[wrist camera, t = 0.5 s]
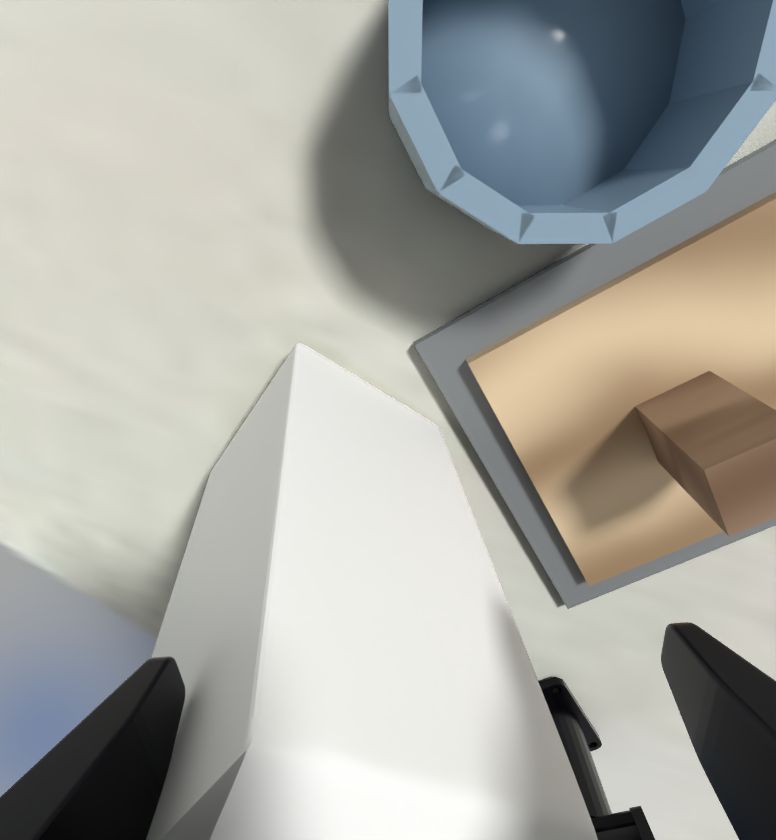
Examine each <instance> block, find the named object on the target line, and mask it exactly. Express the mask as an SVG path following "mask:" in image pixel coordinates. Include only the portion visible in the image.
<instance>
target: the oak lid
mask: <svg viewBox="0 0 776 840" xmlns="http://www.w3.org/2000/svg"><path fill="white" fill-rule="evenodd" d="M466 361H467V363H468V365H469V367H470V369H471V371H472V372H473V374H474V376H475V378H476V380H477V382H478V383H479V385H480V387H481V389H482V391H483V393H484V394H485V396H486V398H487V400H488V402H489V404H490V405H491V407H492V409H493V411H494V413H495V415H496V416H497V418H498V420H499V422H500V424H501V426H502V427H503V429H504V431H505V433H506V435H507V437H508V438H509V440H510V442H511V444H512V446H513V448H514V449H515V451H516V453H517V455H518V457H519V459H520V460H521V462H522V464H523V466H524V468H525V470H526V471H527V473H528V475H529V477H530V479H531V481H532V482H533V484H534V486H535V488H536V490H537V492H538V493H539V495H540V497H541V499H542V501H543V502H544V504H545V506H546V508H547V510H548V512H549V513H550V515H551V517H552V519H553V521H554V523H555V524H556V526H557V528H558V530H559V532H560V534H561V535H562V537H563V539H564V541H565V543H566V545H567V546H568V548H569V550H570V552H571V554H572V556H573V557H574V559H575V561H576V563H577V565H578V567H579V568H580V570H581V572H582V574H583V576H584V578H585V579H586V581H587V583H588V585H589V586H591V585H594V584H596V583H599V582H601V581H604V580H606V579H609V578H611V577H613V576H616V575H618V574H621V573H623V572H626V571H628V570H631V569H633V568H635V567H638V566H640V565H643V564H645V563H648V562H650V561H653V560H655V559H657V558H660V557H662V556H665V555H667V554H670V553H672V552H675V551H677V550H679V549H682V548H684V547H687V546H689V545H692V544H694V543H697V542H699V541H701V540H704V539H706V538H709V537H711V536H714V535H716V534H719V533H721V532H723V531H724V532H725V533H726V534H727V535H728V536H729V537H730V536H732V535H735V534H737V533H740V532H742V531H744V530H747V529H749V528H752V527H754V526H757V525H759V524H762V523H764V522H767V521H769V520H772V519H774V518H776V192H775V193H773V194H771V195H769V196H767V197H765V198H764V199H762V200H760V201H758V202H756V203H754V204H752V205H751V206H749V207H747V208H745V209H743V210H741V211H739V212H738V213H736V214H734V215H732V216H730V217H728V218H726V219H725V220H723V221H721V222H719V223H717V224H715V225H713V226H712V227H710V228H708V229H706V230H704V231H702V232H700V233H699V234H697V235H695V236H693V237H691V238H689V239H687V240H686V241H684V242H682V243H680V244H678V245H676V246H674V247H673V248H671V249H669V250H667V251H665V252H663V253H661V254H660V255H658V256H656V257H654V258H652V259H650V260H648V261H647V262H645V263H643V264H641V265H639V266H637V267H635V268H634V269H632V270H630V271H628V272H626V273H624V274H622V275H621V276H619V277H617V278H615V279H613V280H611V281H609V282H608V283H606V284H604V285H602V286H600V287H598V288H596V289H595V290H593V291H591V292H589V293H587V294H585V295H583V296H582V297H580V298H578V299H576V300H574V301H572V302H570V303H569V304H567V305H565V306H563V307H561V308H559V309H557V310H556V311H554V312H552V313H550V314H548V315H546V316H544V317H543V318H541V319H539V320H537V321H535V322H533V323H531V324H530V325H528V326H526V327H524V328H522V329H520V330H518V331H517V332H515V333H513V334H511V335H509V336H507V337H505V338H504V339H502V340H500V341H498V342H496V343H494V344H492V345H491V346H489V347H487V348H485V349H483V350H481V351H479V352H478V353H476V354H474V355H472V356H470V357H468V358H466Z"/></svg>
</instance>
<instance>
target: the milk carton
mask: <svg viewBox="0 0 776 840" xmlns="http://www.w3.org/2000/svg"><path fill="white" fill-rule="evenodd" d="M166 656H170V657H173V658H174V659H175V661H176V663H177V665H178V668H179V671H180V674H181V677H182V679H183V682H184V685H185V701H184V706H183V710H182V714H181V718H180V723H179V727H178V731H177V735H176V740H175V744H174V748H173V752H172V757H171V761H170V764H169V768H168V772H167V775H166V779H165V782H164V786H163V789H162V792H161V795H160V798H159V801H158V805H157V808H156V811H155V814H154V817H153V820H152V823H151V826H150V829H149V832H148V835H147V838H146V840H598V839H597V835H596V832H595V829H594V826H593V823H592V821H591V818H590V815H589V813H588V810H587V807H586V804H585V802H584V799H583V796H582V794H581V791H580V788H579V786H578V783H577V780H576V778H575V775H574V772H573V770H572V767H571V765H570V762H569V759H568V757H567V754H566V752H565V749H564V746H563V744H562V741H561V739H560V736H559V733H558V731H557V728H556V726H555V723H554V721H553V718H552V716H551V713H550V710H549V708H548V705H547V703H546V700H545V698H544V695H543V692H542V690H541V687H540V685H539V682H538V680H537V677H536V674H535V672H534V669H533V667H532V664H531V662H530V659H529V656H528V654H527V651H526V649H525V646H524V644H523V641H522V638H521V636H520V633H519V631H518V628H517V626H516V623H515V620H514V618H513V615H512V613H511V610H510V608H509V605H508V602H507V600H506V597H505V595H504V592H503V590H502V587H501V585H500V582H499V579H498V577H497V574H496V572H495V569H494V567H493V564H492V561H491V559H490V556H489V554H488V551H487V549H486V546H485V543H484V541H483V538H482V536H481V533H480V531H479V528H478V525H477V523H476V520H475V518H474V515H473V513H472V510H471V507H470V505H469V502H468V500H467V497H466V495H465V492H464V489H463V487H462V484H461V482H460V479H459V477H458V474H457V471H456V469H455V466H454V464H453V461H452V459H451V456H450V454H449V451H448V448H447V446H446V443H445V441H444V438H443V436H442V433H441V430H440V428H439V427H438V426H437V425H436V424H434V423H433V422H431V421H430V420H428V419H427V418H425V417H423V416H422V415H420V414H418V413H417V412H415V411H414V410H412V409H410V408H409V407H407V406H405V405H404V404H402V403H400V402H399V401H397V400H395V399H394V398H392V397H390V396H389V395H387V394H385V393H384V392H382V391H380V390H379V389H377V388H375V387H374V386H372V385H370V384H369V383H367V382H366V381H364V380H362V379H361V378H359V377H357V376H356V375H354V374H352V373H351V372H349V371H347V370H346V369H344V368H342V367H341V366H339V365H337V364H336V363H334V362H332V361H331V360H329V359H327V358H326V357H324V356H323V355H321V354H319V353H317V352H316V351H314V350H312V349H311V348H309V347H307V346H305V345H303V344H301V343H297V344H296V345H295V346H294V348H293V349H292V351H291V352H290V354H289V355H288V357H287V358H286V360H285V361H284V363H283V364H282V366H281V367H280V369H279V370H278V372H277V373H276V375H275V376H274V378H273V379H272V381H271V382H270V384H269V385H268V387H267V388H266V390H265V391H264V393H263V394H262V396H261V397H260V399H259V400H258V402H257V403H256V405H255V406H254V408H253V409H252V411H251V412H250V414H249V415H248V417H247V418H246V420H245V421H244V423H243V424H242V426H241V427H240V429H239V430H238V432H237V433H236V435H235V436H234V438H233V439H232V441H231V442H230V444H229V445H228V447H227V448H226V450H225V451H224V452H223V454H222V455H221V457H220V458H219V460H218V461H217V463H216V464H215V466H214V467H213V469H212V471H211V473H210V476H209V479H208V482H207V485H206V488H205V491H204V494H203V497H202V501H201V504H200V507H199V510H198V513H197V516H196V519H195V522H194V525H193V529H192V532H191V535H190V538H189V541H188V544H187V547H186V550H185V554H184V557H183V560H182V563H181V566H180V569H179V572H178V575H177V578H176V582H175V585H174V588H173V591H172V594H171V597H170V600H169V603H168V606H167V610H166V613H165V616H164V619H163V622H162V625H161V628H160V631H159V634H158V638H157V641H156V644H155V647H154V650H153V654H152V656H151V658H153V657H166Z"/></svg>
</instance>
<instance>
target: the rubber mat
mask: <svg viewBox="0 0 776 840" xmlns="http://www.w3.org/2000/svg"><path fill="white" fill-rule="evenodd" d="M775 192H776V140H774V141H772V142H771V143H769V144H767V145H765V146H763V147H762V148H760V149H758V150H756V151H754V152H753V153H751V154H749V155H747V156H746V157H744V158H742V159H740V160H738V161H737V162H735V163H733V164H731V165H729V166H728V167H726V168H724V169H723V170H722V172H721V173H720V174H719V176H718V177H717V178H716V179H715V181H714V182H713V183H712V185H711V186H710V187H709V189H708V190H707V191H706V192H705V193H703V194H701V195H699V196H697V197H696V198H694V199H692V200H690V201H688V202H687V203H685V204H683V205H681V206H679V207H678V208H676V209H674V210H672V211H670V212H668V213H667V214H665V215H663V216H661V217H659V218H658V219H656V220H654V221H652V222H650V223H649V224H647V225H645V226H643V227H641V228H640V229H638V230H636V231H634V232H632V233H631V234H629V235H627V236H625V237H623V238H622V239H620V240H618V241H616V242H614V243H612V244H588V245H587V246H585V247H583V248H581V249H579V250H578V251H576V252H574V253H572V254H570V255H569V256H567V257H565V258H563V259H562V260H560V261H558V262H556V263H554V264H553V265H551V266H549V267H547V268H545V269H544V270H542V271H540V272H538V273H537V274H535V275H533V276H531V277H529V278H528V279H526V280H524V281H522V282H520V283H519V284H517V285H515V286H513V287H512V288H510V289H508V290H506V291H504V292H503V293H501V294H499V295H497V296H495V297H494V298H492V299H490V300H488V301H487V302H485V303H483V304H481V305H479V306H478V307H476V308H474V309H472V310H470V311H469V312H467V313H465V314H463V315H461V316H460V317H458V318H456V319H454V320H453V321H451V322H449V323H447V324H445V325H444V326H442V327H440V328H438V329H436V330H435V331H433V332H431V333H429V334H428V335H426V336H424V337H422V338H420V339H419V340H417V341H415V342H414V346H415V348H416V349H417V351H418V353H419V355H420V356H421V358H422V360H423V361H424V363H425V365H426V367H427V368H428V370H429V372H430V373H431V375H432V377H433V379H434V380H435V382H436V384H437V385H438V387H439V389H440V391H441V392H442V394H443V396H444V397H445V399H446V401H447V403H448V404H449V406H450V408H451V409H452V411H453V413H454V415H455V416H456V418H457V420H458V421H459V423H460V425H461V427H462V428H463V430H464V432H465V433H466V435H467V437H468V439H469V440H470V442H471V444H472V445H473V447H474V449H475V451H476V452H477V454H478V456H479V457H480V459H481V461H482V463H483V464H484V466H485V468H486V469H487V471H488V473H489V475H490V476H491V478H492V480H493V482H494V483H495V485H496V487H497V488H498V490H499V492H500V494H501V495H502V497H503V499H504V500H505V502H506V504H507V506H508V507H509V509H510V511H511V512H512V514H513V516H514V518H515V519H516V521H517V523H518V524H519V526H520V528H521V530H522V531H523V533H524V535H525V536H526V538H527V540H528V542H529V543H530V545H531V547H532V548H533V550H534V552H535V554H536V555H537V557H538V559H539V560H540V562H541V564H542V566H543V567H544V569H545V571H546V572H547V574H548V576H549V578H550V579H551V581H552V583H553V584H554V586H555V588H556V590H557V591H558V593H559V595H560V596H561V598H562V600H563V602H564V603H565V605H566V607H567V608H568V609H569V608H571V607H574V606H576V605H579V604H581V603H584V602H586V601H589V600H591V599H594V598H596V597H599V596H601V595H604V594H606V593H609V592H611V591H614V590H616V589H619V588H621V587H624V586H626V585H628V584H631V583H633V582H636V581H638V580H641V579H643V578H646V577H648V576H651V575H653V574H656V573H658V572H661V571H663V570H666V569H668V568H671V567H673V566H676V565H678V564H681V563H683V562H686V561H688V560H691V559H693V558H696V557H698V556H700V555H703V554H705V553H708V552H710V551H713V550H715V549H718V548H720V547H723V546H725V545H728V544H730V543H733V542H735V541H738V540H740V539H743V538H745V537H748V536H750V535H753V534H755V533H758V532H760V531H763V530H765V529H767V528H770V527H772V526H775V525H776V518H774V519H772V520H769V521H767V522H764V523H762V524H759V525H757V526H754V527H752V528H749V529H747V530H744V531H742V532H740V533H737V534H735V535H732V536H730V537H729V536H728V535H727V534H726V533H725V532H724V531H723V532H721V533H719V534H716V535H714V536H711V537H709V538H706V539H704V540H701V541H699V542H697V543H694V544H692V545H689V546H687V547H684V548H682V549H679V550H677V551H675V552H672V553H670V554H667V555H665V556H662V557H660V558H657V559H655V560H653V561H650V562H648V563H645V564H643V565H640V566H638V567H635V568H633V569H631V570H628V571H626V572H623V573H621V574H618V575H616V576H613V577H611V578H609V579H606V580H604V581H601V582H599V583H596V584H594V585H591V586H589V585H588V583H587V581H586V579H585V578H584V576H583V574H582V572H581V570H580V568H579V567H578V565H577V563H576V561H575V559H574V557H573V556H572V554H571V552H570V550H569V548H568V546H567V545H566V543H565V541H564V539H563V537H562V535H561V534H560V532H559V530H558V528H557V526H556V524H555V523H554V521H553V519H552V517H551V515H550V513H549V512H548V510H547V508H546V506H545V504H544V502H543V501H542V499H541V497H540V495H539V493H538V492H537V490H536V488H535V486H534V484H533V482H532V481H531V479H530V477H529V475H528V473H527V471H526V470H525V468H524V466H523V464H522V462H521V460H520V459H519V457H518V455H517V453H516V451H515V449H514V448H513V446H512V444H511V442H510V440H509V438H508V437H507V435H506V433H505V431H504V429H503V427H502V426H501V424H500V422H499V420H498V418H497V416H496V415H495V413H494V411H493V409H492V407H491V405H490V404H489V402H488V400H487V398H486V396H485V394H484V393H483V391H482V389H481V387H480V385H479V383H478V382H477V380H476V378H475V376H474V374H473V372H472V371H471V369H470V367H469V365H468V363H467V361H466V358H468V357H470V356H472V355H474V354H476V353H478V352H479V351H481V350H483V349H485V348H487V347H489V346H491V345H492V344H494V343H496V342H498V341H500V340H502V339H504V338H505V337H507V336H509V335H511V334H513V333H515V332H517V331H518V330H520V329H522V328H524V327H526V326H528V325H530V324H531V323H533V322H535V321H537V320H539V319H541V318H543V317H544V316H546V315H548V314H550V313H552V312H554V311H556V310H557V309H559V308H561V307H563V306H565V305H567V304H569V303H570V302H572V301H574V300H576V299H578V298H580V297H582V296H583V295H585V294H587V293H589V292H591V291H593V290H595V289H596V288H598V287H600V286H602V285H604V284H606V283H608V282H609V281H611V280H613V279H615V278H617V277H619V276H621V275H622V274H624V273H626V272H628V271H630V270H632V269H634V268H635V267H637V266H639V265H641V264H643V263H645V262H647V261H648V260H650V259H652V258H654V257H656V256H658V255H660V254H661V253H663V252H665V251H667V250H669V249H671V248H673V247H674V246H676V245H678V244H680V243H682V242H684V241H686V240H687V239H689V238H691V237H693V236H695V235H697V234H699V233H700V232H702V231H704V230H706V229H708V228H710V227H712V226H713V225H715V224H717V223H719V222H721V221H723V220H725V219H726V218H728V217H730V216H732V215H734V214H736V213H738V212H739V211H741V210H743V209H745V208H747V207H749V206H751V205H752V204H754V203H756V202H758V201H760V200H762V199H764V198H765V197H767V196H769V195H771V194H773V193H775Z"/></svg>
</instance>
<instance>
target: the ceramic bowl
mask: <svg viewBox="0 0 776 840" xmlns="http://www.w3.org/2000/svg"><path fill="white" fill-rule="evenodd" d="M388 68H389V117H390V119H391V121H392V123H393V125H394V127H395V129H396V131H397V133H398V135H399V137H400V139H401V141H402V143H403V145H404V147H405V149H406V151H407V153H408V155H409V157H410V159H411V161H412V163H413V165H414V167H415V169H416V171H417V173H418V175H419V177H420V179H421V181H422V183H423V185H424V187H425V188H426V190H428V191H429V192H431V193H432V194H434V195H436V196H437V197H439V198H440V199H442V200H444V201H445V202H447V203H448V204H450V205H451V206H453V207H455V208H456V209H458V210H459V211H461V212H462V213H464V214H466V215H467V216H469V217H470V218H472V219H473V220H475V221H477V222H478V223H480V224H481V225H483V226H484V227H486V228H488V229H490V230H492V231H494V232H496V233H498V234H499V235H501V236H503V237H505V238H507V239H509V240H511V241H513V242H515V243H517V244H612V243H614V242H616V241H618V240H620V239H622V238H623V237H625V236H627V235H629V234H631V233H632V232H634V231H636V230H638V229H640V228H641V227H643V226H645V225H647V224H649V223H650V222H652V221H654V220H656V219H658V218H659V217H661V216H663V215H665V214H667V213H668V212H670V211H672V210H674V209H676V208H678V207H679V206H681V205H683V204H685V203H687V202H688V201H690V200H692V199H694V198H696V197H697V196H699V195H701V194H703V193H705V192H706V191H707V190H708V189H709V187H710V186H711V185H712V183H713V182H714V181H715V179H716V178H717V177H718V176H719V174H720V173H721V172H722V170H723V169H724V168H725V166H726V165H727V164H728V162H729V161H730V160H731V158H732V157H733V156H734V155H735V153H736V152H737V151H738V149H739V148H740V147H741V145H742V144H743V143H744V141H745V140H746V139H747V137H748V136H749V135H750V133H751V132H752V131H753V130H754V128H755V127H756V126H757V124H758V123H759V122H760V120H761V119H762V118H763V116H764V115H765V114H766V112H767V111H768V110H769V109H770V107H771V106H772V105H773V103H774V102H775V101H776V0H388Z"/></svg>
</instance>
